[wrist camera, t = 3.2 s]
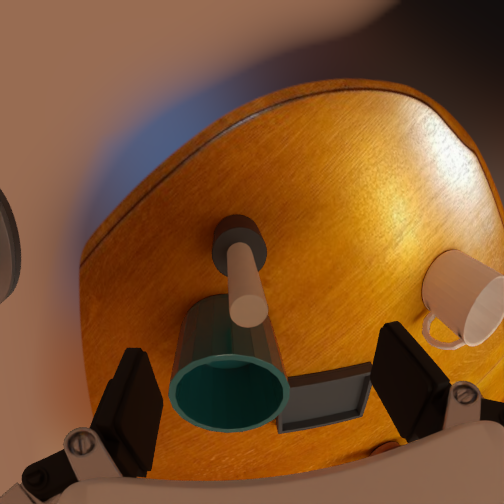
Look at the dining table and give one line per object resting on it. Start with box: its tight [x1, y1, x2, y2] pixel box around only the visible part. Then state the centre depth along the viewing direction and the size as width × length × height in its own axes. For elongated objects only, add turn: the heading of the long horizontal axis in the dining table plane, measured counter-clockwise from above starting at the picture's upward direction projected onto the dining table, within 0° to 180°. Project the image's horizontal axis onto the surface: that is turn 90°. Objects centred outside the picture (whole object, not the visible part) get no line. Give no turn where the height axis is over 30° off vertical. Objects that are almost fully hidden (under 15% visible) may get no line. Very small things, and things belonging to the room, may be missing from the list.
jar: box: [168, 294, 290, 433], centre depth 27 cm, size 10×10×10 cm
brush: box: [212, 215, 268, 328], centre depth 21 cm, size 4×4×14 cm
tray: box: [276, 362, 372, 434], centre depth 35 cm, size 13×10×2 cm
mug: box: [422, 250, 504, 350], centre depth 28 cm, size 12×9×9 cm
